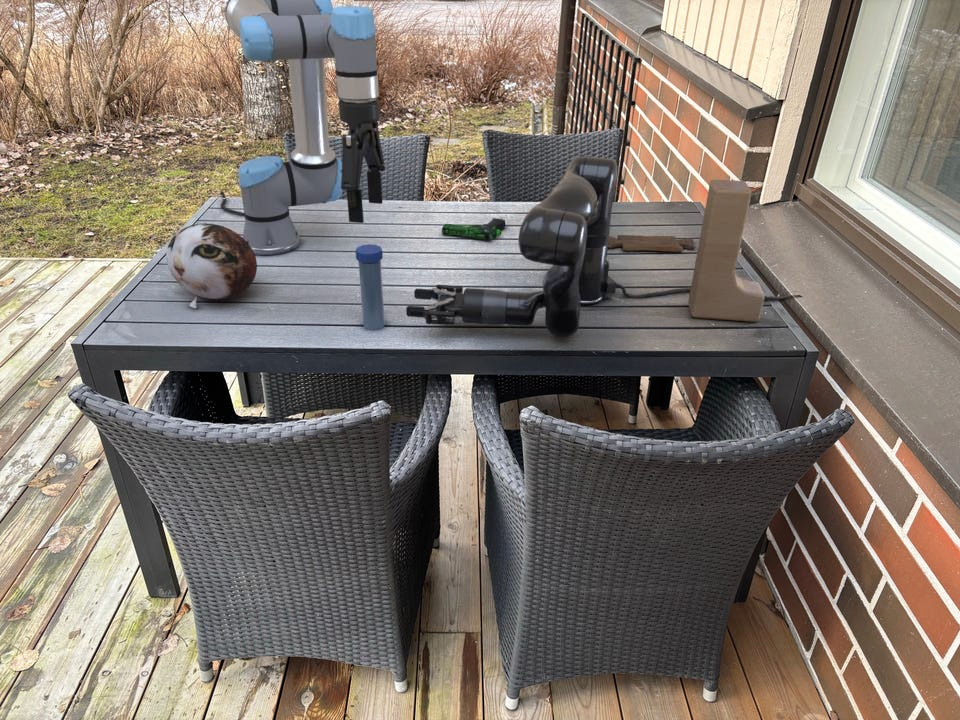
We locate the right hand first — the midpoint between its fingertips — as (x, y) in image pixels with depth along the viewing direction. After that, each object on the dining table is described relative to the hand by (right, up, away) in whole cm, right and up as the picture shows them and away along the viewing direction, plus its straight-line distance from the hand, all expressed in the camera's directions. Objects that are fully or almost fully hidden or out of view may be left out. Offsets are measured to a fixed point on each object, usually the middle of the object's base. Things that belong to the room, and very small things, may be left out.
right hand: (410, 302), depth 153 cm
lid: (-8, +10, -5) cm, 14 cm away
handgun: (+14, +25, +54) cm, 61 cm away
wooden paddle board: (+62, +19, +47) cm, 80 cm away
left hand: (-8, +17, -9) cm, 21 cm away
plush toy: (-47, +3, +16) cm, 50 cm away
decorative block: (+71, -2, +11) cm, 72 cm away
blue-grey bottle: (-9, -5, +4) cm, 11 cm away
